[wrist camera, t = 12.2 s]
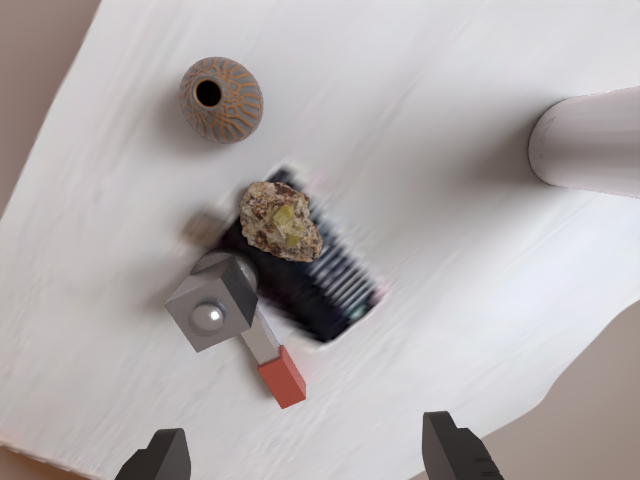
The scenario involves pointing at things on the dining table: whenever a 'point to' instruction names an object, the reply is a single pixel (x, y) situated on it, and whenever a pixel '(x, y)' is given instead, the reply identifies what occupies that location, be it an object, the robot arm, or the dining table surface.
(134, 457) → the robot arm
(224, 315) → the domed steel cube
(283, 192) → the mineral rock
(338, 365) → the dining table surface
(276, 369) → the ratchet
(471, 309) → the dining table surface
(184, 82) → the vase
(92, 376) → the dining table surface
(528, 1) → the dining table surface
